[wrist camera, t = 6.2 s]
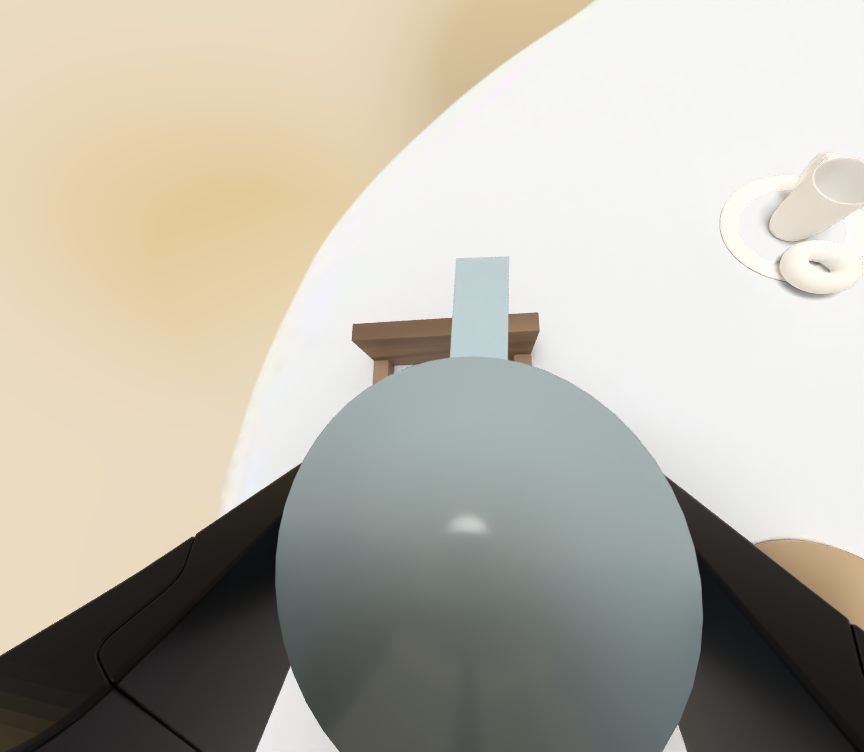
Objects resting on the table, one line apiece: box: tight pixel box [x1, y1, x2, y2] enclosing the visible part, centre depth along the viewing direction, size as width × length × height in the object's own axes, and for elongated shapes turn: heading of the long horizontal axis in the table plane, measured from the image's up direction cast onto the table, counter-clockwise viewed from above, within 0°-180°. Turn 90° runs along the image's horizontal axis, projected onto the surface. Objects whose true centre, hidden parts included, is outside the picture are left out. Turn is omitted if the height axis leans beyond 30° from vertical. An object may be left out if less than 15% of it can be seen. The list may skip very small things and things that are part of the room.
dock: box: [352, 313, 540, 385], centre depth 19 cm, size 12×10×5 cm
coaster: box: [755, 539, 864, 630], centre depth 15 cm, size 10×10×1 cm
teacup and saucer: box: [720, 152, 864, 294], centre depth 19 cm, size 9×8×4 cm
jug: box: [275, 257, 703, 752], centre depth 9 cm, size 9×6×10 cm, turn 176°
